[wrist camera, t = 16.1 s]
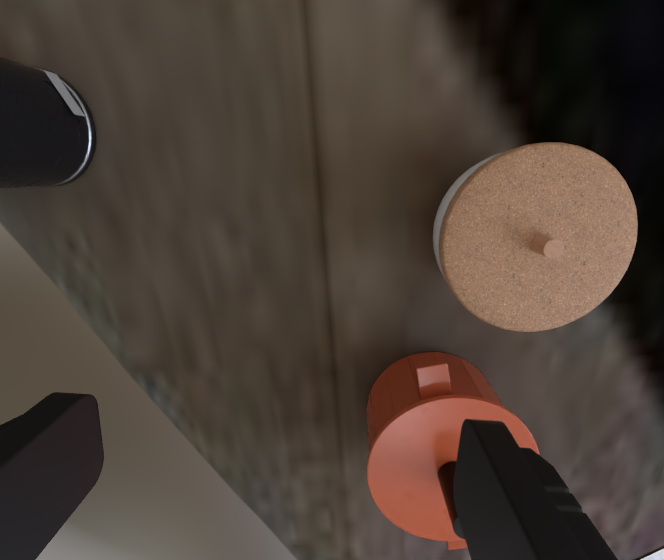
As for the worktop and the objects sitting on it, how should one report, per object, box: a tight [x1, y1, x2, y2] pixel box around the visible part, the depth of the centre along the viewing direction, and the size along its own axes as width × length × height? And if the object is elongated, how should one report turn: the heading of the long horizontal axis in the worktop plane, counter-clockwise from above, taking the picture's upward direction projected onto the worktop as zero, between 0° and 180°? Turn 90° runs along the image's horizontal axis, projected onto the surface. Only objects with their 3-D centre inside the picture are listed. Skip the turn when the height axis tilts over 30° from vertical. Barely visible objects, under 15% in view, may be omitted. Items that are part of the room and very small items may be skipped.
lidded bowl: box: [433, 142, 638, 332], centre depth 30 cm, size 13×13×11 cm
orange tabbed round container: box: [366, 352, 504, 550], centre depth 36 cm, size 12×18×8 cm
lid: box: [367, 395, 539, 541], centre depth 30 cm, size 13×13×6 cm
